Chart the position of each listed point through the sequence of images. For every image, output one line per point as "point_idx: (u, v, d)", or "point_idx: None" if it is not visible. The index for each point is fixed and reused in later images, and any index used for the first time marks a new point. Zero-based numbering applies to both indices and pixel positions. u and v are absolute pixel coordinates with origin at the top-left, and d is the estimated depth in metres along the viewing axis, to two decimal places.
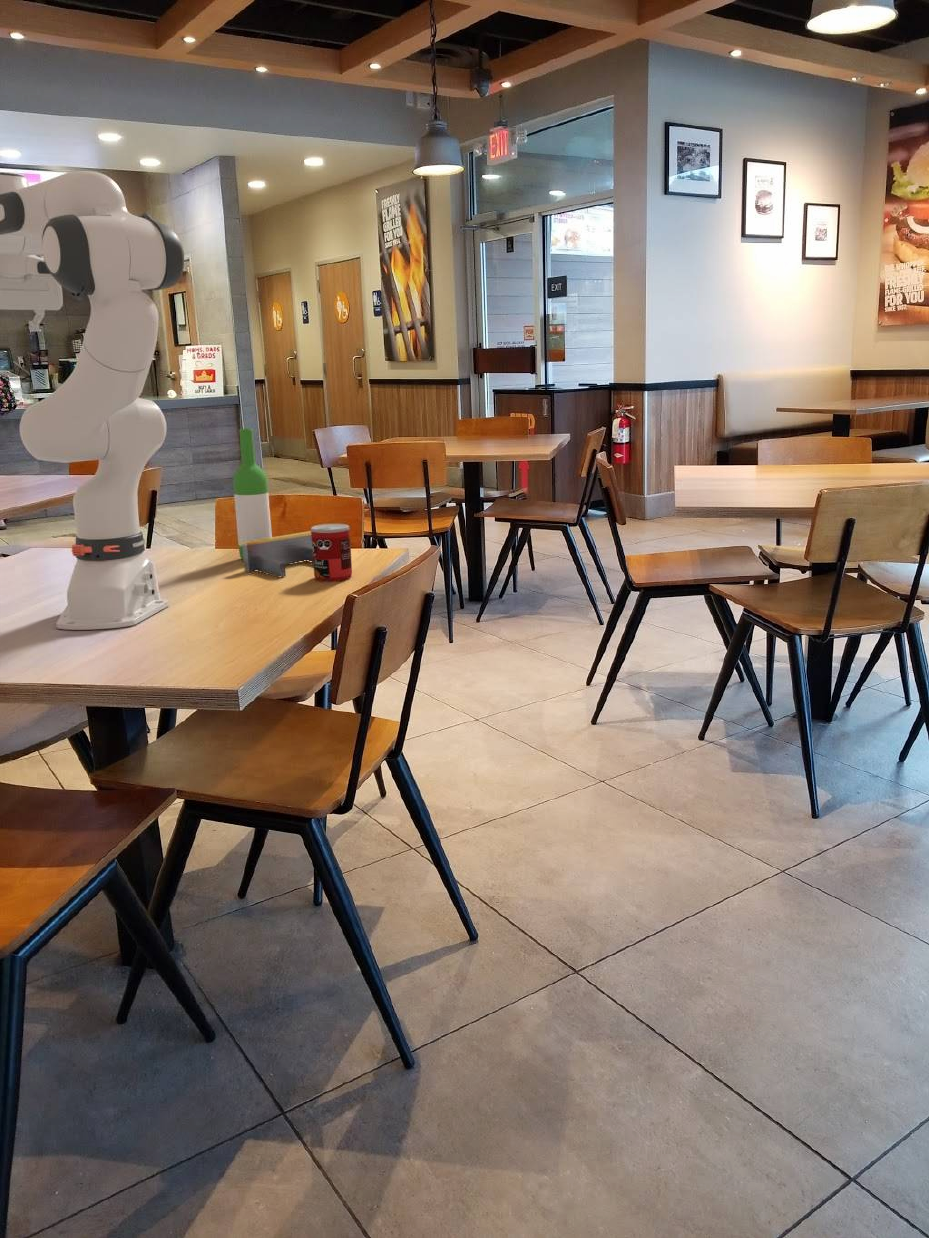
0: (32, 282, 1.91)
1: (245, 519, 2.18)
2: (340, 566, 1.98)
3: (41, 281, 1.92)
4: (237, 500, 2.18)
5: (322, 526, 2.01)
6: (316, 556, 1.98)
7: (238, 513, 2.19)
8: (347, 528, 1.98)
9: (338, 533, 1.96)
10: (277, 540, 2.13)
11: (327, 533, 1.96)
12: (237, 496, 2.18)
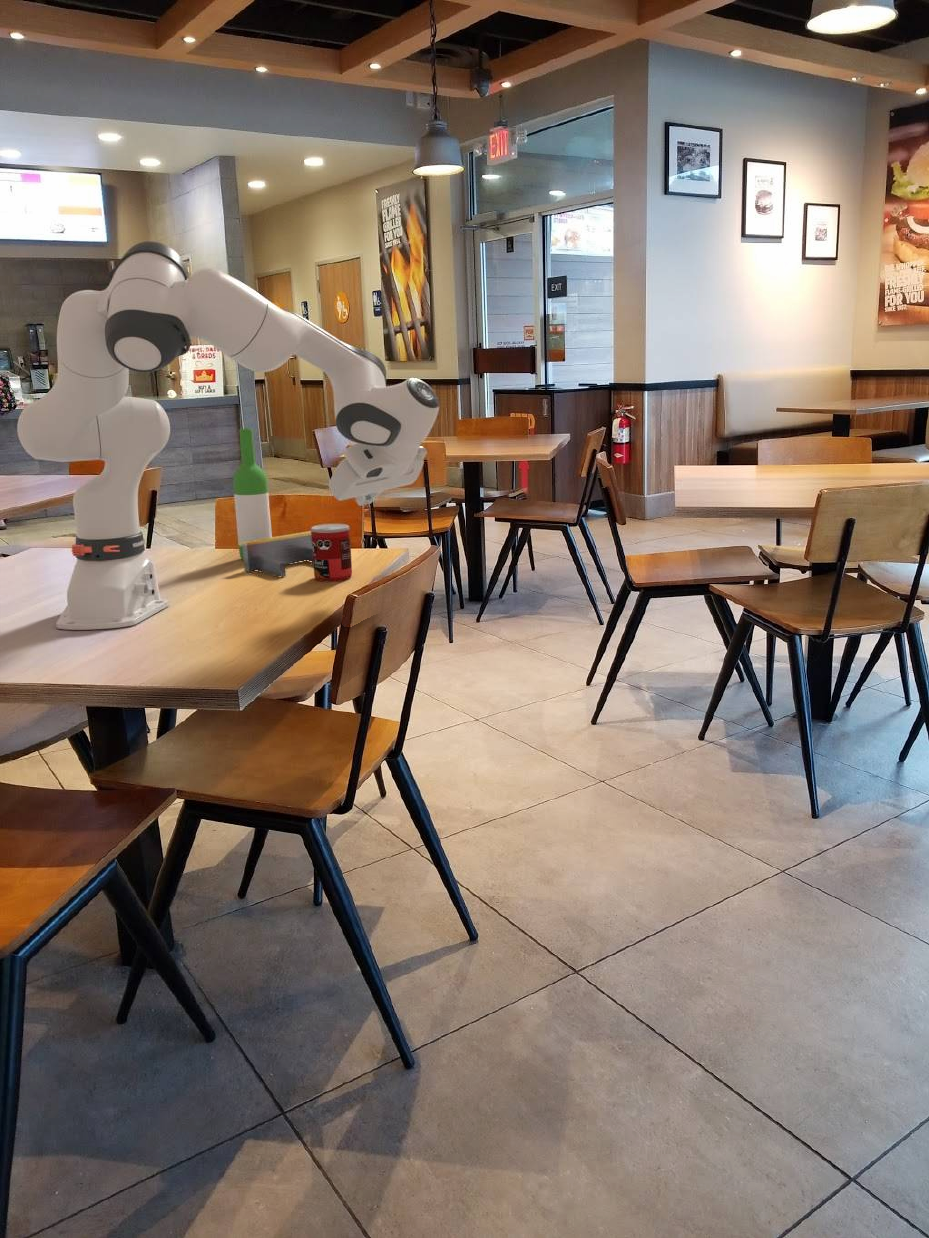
0: None
1: (245, 519, 2.18)
2: (340, 566, 1.98)
3: None
4: (237, 500, 2.18)
5: (322, 526, 2.01)
6: (316, 556, 1.98)
7: (238, 513, 2.19)
8: (347, 528, 1.98)
9: (338, 533, 1.96)
10: (277, 540, 2.13)
11: (327, 533, 1.96)
12: (237, 496, 2.18)
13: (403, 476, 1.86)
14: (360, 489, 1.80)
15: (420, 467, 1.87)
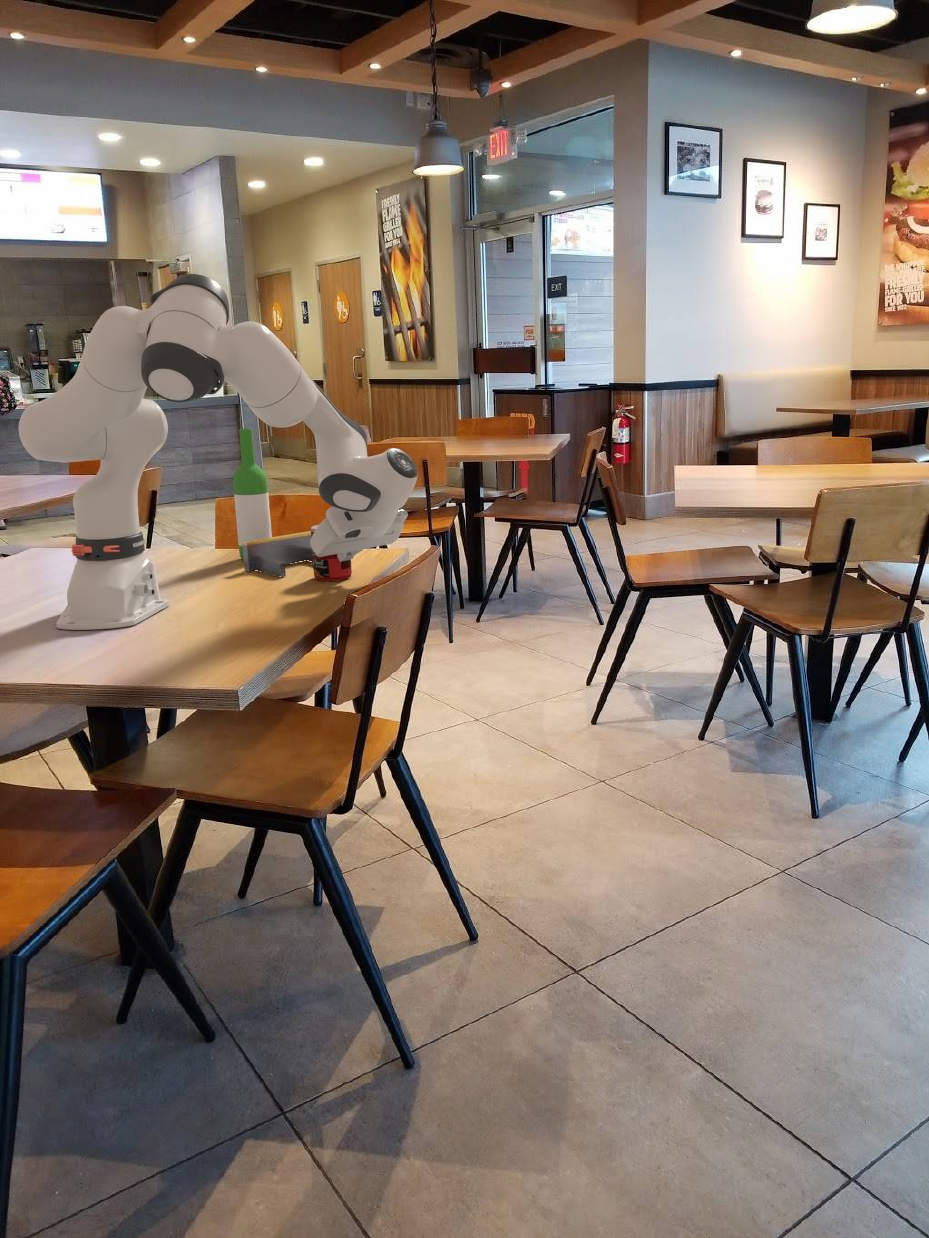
0: None
1: (245, 519, 2.18)
2: (340, 566, 1.98)
3: None
4: (237, 500, 2.18)
5: None
6: (316, 555, 1.98)
7: (238, 513, 2.19)
8: None
9: None
10: (277, 540, 2.13)
11: None
12: (237, 496, 2.18)
13: (383, 536, 1.95)
14: (339, 547, 1.89)
15: (400, 529, 1.96)
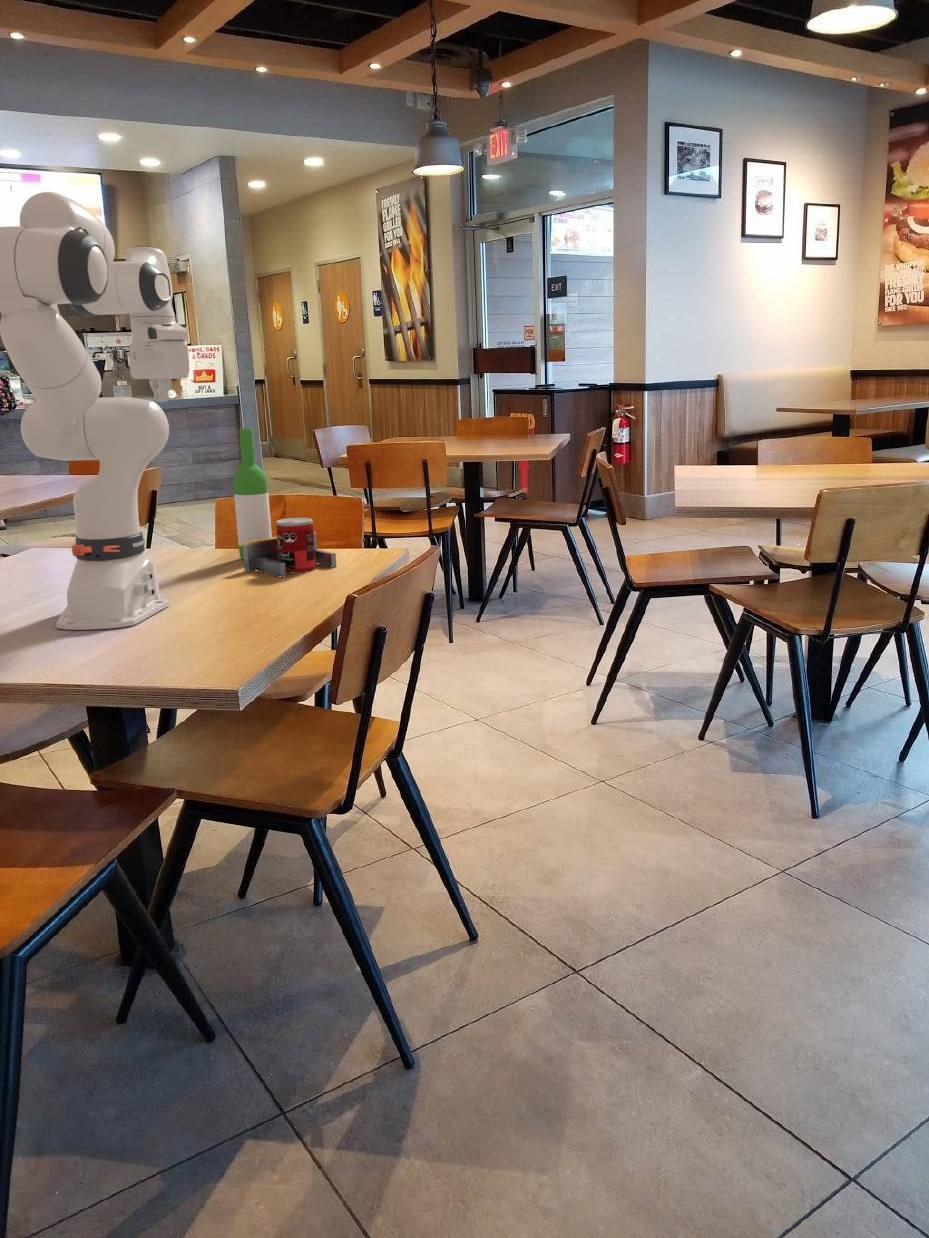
0: (157, 350, 1.92)
1: (245, 519, 2.18)
2: (305, 557, 2.08)
3: (159, 349, 1.91)
4: (237, 500, 2.18)
5: (286, 520, 2.10)
6: (282, 548, 2.07)
7: (238, 513, 2.19)
8: (311, 521, 2.08)
9: (303, 526, 2.06)
10: None
11: (292, 526, 2.05)
12: (237, 496, 2.18)
13: None
14: None
15: None
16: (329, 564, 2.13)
